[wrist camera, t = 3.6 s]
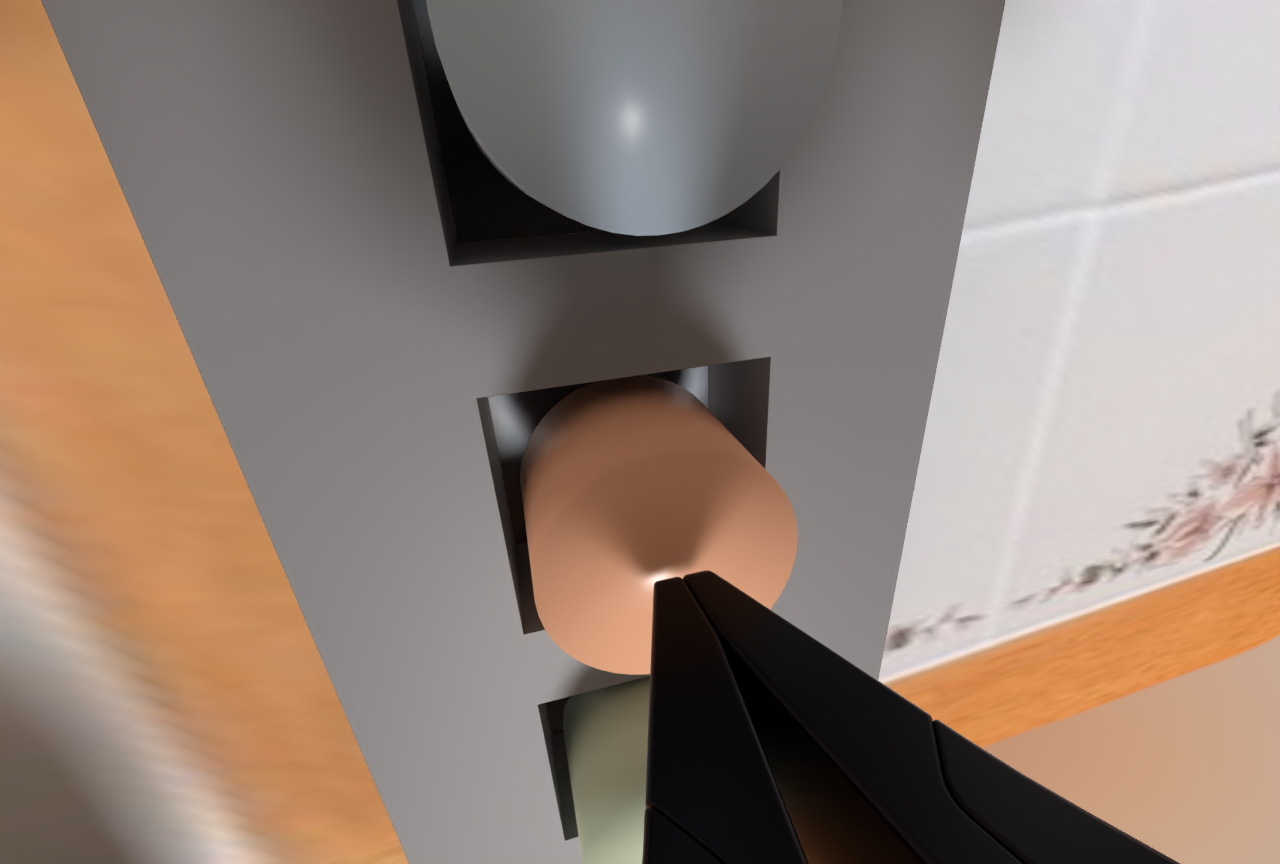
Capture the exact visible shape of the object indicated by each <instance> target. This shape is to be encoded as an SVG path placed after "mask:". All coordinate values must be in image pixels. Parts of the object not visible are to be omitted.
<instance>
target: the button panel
mask: <svg viewBox="0 0 1280 864" xmlns="http://www.w3.org/2000/svg"><path fill="white" fill-rule="evenodd" d="M41 1H42V4H43V6H44V8H45V11H46V13H47V15H48V18H49V20H50V22H51V25H52V27H53V29H54V32H55V34H56V36H57V39H58V41H59V43H60V46H61V48H62V50H63V53H64V55H65V57H66V60H67V62H68V65H69V67H70V69H71V72H72V74H73V76H74V79H75V81H76V83H77V86H78V88H79V90H80V93H81V95H82V97H83V100H84V102H85V104H86V107H87V109H88V111H89V114H90V116H91V118H92V121H93V123H94V125H95V128H96V130H97V133H98V135H99V137H100V140H101V142H102V144H103V147H104V149H105V151H106V154H107V156H108V158H109V161H110V163H111V165H112V168H113V170H114V172H115V175H116V177H117V179H118V182H119V184H120V186H121V189H122V191H123V194H124V196H125V198H126V201H127V203H128V205H129V208H130V210H131V212H132V215H133V217H134V219H135V222H136V224H137V226H138V229H139V231H140V233H141V236H142V238H143V240H144V243H145V245H146V247H147V250H148V252H149V254H150V257H151V259H152V262H153V264H154V266H155V269H156V271H157V273H158V276H159V278H160V280H161V283H162V285H163V287H164V290H165V292H166V294H167V297H168V299H169V301H170V304H171V306H172V308H173V311H174V313H175V315H176V318H177V320H178V323H179V325H180V327H181V330H182V332H183V334H184V337H185V339H186V341H187V344H188V346H189V348H190V351H191V353H192V355H193V358H194V360H195V362H196V365H197V367H198V369H199V372H200V374H201V376H202V379H203V381H204V383H205V386H206V388H207V391H208V393H209V395H210V398H211V400H212V402H213V405H214V407H215V409H216V412H217V414H218V416H219V419H220V421H221V423H222V426H223V428H224V430H225V433H226V435H227V437H228V440H229V442H230V444H231V447H232V449H233V452H234V454H235V456H236V459H237V461H238V463H239V466H240V468H241V470H242V473H243V475H244V477H245V480H246V482H247V484H248V487H249V489H250V491H251V494H252V496H253V498H254V501H255V503H256V505H257V508H258V510H259V512H260V515H261V517H262V520H263V522H264V524H265V527H266V529H267V531H268V534H269V536H270V538H271V541H272V543H273V545H274V548H275V550H276V552H277V555H278V557H279V559H280V562H281V564H282V566H283V569H284V571H285V573H286V576H287V578H288V581H289V583H290V585H291V588H292V590H293V592H294V595H295V597H296V599H297V602H298V604H299V606H300V609H301V611H302V613H303V616H304V618H305V620H306V623H307V625H308V627H309V630H310V632H311V634H312V637H313V639H314V641H315V644H316V646H317V649H318V651H319V653H320V656H321V658H322V660H323V663H324V665H325V667H326V670H327V672H328V674H329V677H330V679H331V681H332V684H333V686H334V688H335V691H336V693H337V695H338V698H339V700H340V702H341V705H342V707H343V710H344V712H345V714H346V717H347V719H348V721H349V724H350V726H351V728H352V731H353V733H354V735H355V738H356V740H357V742H358V745H359V747H360V749H361V752H362V754H363V756H364V759H365V761H366V763H367V766H368V768H369V770H370V773H371V775H372V778H373V780H374V782H375V785H376V787H377V789H378V792H379V794H380V796H381V799H382V801H383V803H384V806H385V808H386V810H387V813H388V815H389V817H390V820H391V822H392V824H393V827H394V829H395V831H396V834H397V836H398V838H399V841H400V843H401V846H402V848H403V850H404V853H405V855H406V857H407V860H408V862H409V864H583V863H582V856H581V849H580V842H579V835H578V829H577V822H576V815H575V808H574V801H573V794H572V787H571V780H570V773H569V766H568V759H567V752H566V745H565V738H564V731H563V732H559V733H555V734H552V733H551V727H550V722H549V717H548V712H547V706H546V702H550V701H554V700H558V699H562V698H566V697H570V696H574V695H577V694H581V693H585V692H589V691H593V690H597V689H601V688H605V687H609V686H613V685H617V684H621V683H624V682H628V681H632V680H636V679H640V678H644V677H648V676H650V674H645V675H629V674H619V673H612V672H608V671H603V670H599V669H597V668H594V667H591V666H588V665H586V664H584V663H582V662H580V661H578V660H576V659H574V658H573V657H571V656H570V655H569V654H567V653H566V652H565V651H563V650H562V649H561V648H560V647H559V646H558V645H557V644H556V643H555V642H554V641H553V640H552V638H551V637H550V636H549V634H548V633H547V631H546V630H545V628H544V626H543V624H542V622H541V620H540V618H539V616H538V612H537V608H536V605H535V599H534V591H533V583H532V574H531V566H530V558H529V550H528V542H526V543H520V544H516V543H515V538H514V533H513V528H512V522H511V517H510V512H509V507H508V501H507V496H506V491H505V486H504V480H503V475H502V470H501V465H500V459H499V454H498V449H497V444H496V438H495V433H494V428H493V422H492V417H491V412H490V407H489V401H488V397H489V396H496V395H504V394H511V393H518V392H525V391H532V390H539V389H546V388H553V387H560V386H567V385H574V384H581V383H588V382H595V381H602V380H609V379H616V378H623V377H630V376H638V375H645V374H652V373H659V372H666V371H673V370H680V369H687V368H694V367H701V366H708V365H709V411H710V412H711V413H712V414H713V415H714V416H715V417H716V418H717V419H718V420H719V421H720V422H721V423H722V424H723V425H724V426H725V428H726V429H727V430H728V431H729V432H730V433H731V434H732V435H733V436H734V437H735V438H736V439H737V440H738V441H739V442H740V443H741V444H742V445H743V446H744V447H745V449H746V450H747V451H748V452H749V453H750V454H751V455H752V456H753V457H754V458H755V459H756V460H757V461H758V462H759V463H760V464H761V465H762V466H763V467H764V469H765V470H766V471H767V472H768V473H769V474H770V475H771V476H772V477H773V478H774V479H775V480H776V481H777V482H778V484H779V485H780V486H781V488H782V489H783V490H784V492H785V493H786V495H787V497H788V499H789V501H790V503H791V505H792V508H793V511H794V514H795V517H796V524H797V531H798V536H797V551H796V557H795V561H794V565H793V568H792V572H791V574H790V576H789V579H788V581H787V583H786V586H785V587H784V589H783V591H782V593H781V594H780V596H779V598H778V599H777V601H776V602H775V604H774V605H773V606H772V608H771V609H770V610H772V611H773V612H775V613H776V614H778V615H779V616H781V617H782V618H784V619H785V620H787V621H788V622H790V623H791V624H793V625H794V626H796V627H797V628H799V629H800V630H802V631H803V632H805V633H807V634H808V635H810V636H811V637H813V638H814V639H816V640H817V641H819V642H820V643H822V644H823V645H825V646H826V647H828V648H829V649H831V650H832V651H834V652H835V653H837V654H838V655H840V656H841V657H843V658H844V659H846V660H848V661H849V662H851V663H852V664H854V665H855V666H857V667H858V668H860V669H861V670H863V671H864V672H866V673H867V674H869V675H870V676H872V677H873V678H875V679H876V680H878V677H879V672H880V667H881V661H882V656H883V651H884V645H885V640H886V635H887V629H888V624H889V619H890V613H891V608H892V603H893V597H894V592H895V587H896V581H897V576H898V571H899V565H900V560H901V555H902V549H903V544H904V539H905V533H906V528H907V523H908V517H909V512H910V507H911V501H912V496H913V491H914V485H915V480H916V475H917V469H918V464H919V459H920V453H921V448H922V443H923V437H924V432H925V427H926V421H927V416H928V410H929V405H930V400H931V394H932V389H933V384H934V378H935V373H936V368H937V362H938V357H939V352H940V346H941V341H942V336H943V330H944V325H945V320H946V314H947V309H948V304H949V298H950V293H951V288H952V282H953V277H954V272H955V266H956V261H957V256H958V250H959V245H960V240H961V234H962V229H963V224H964V218H965V213H966V208H967V202H968V197H969V192H970V186H971V181H972V176H973V170H974V165H975V159H976V154H977V149H978V143H979V138H980V133H981V127H982V122H983V117H984V111H985V106H986V101H987V95H988V90H989V85H990V79H991V74H992V69H993V63H994V58H995V53H996V47H997V42H998V37H999V31H1000V26H1001V21H1002V15H1003V10H1004V5H1005V0H843V9H842V16H841V24H840V32H839V39H838V44H837V48H836V53H835V57H834V61H833V66H832V70H831V73H830V76H829V79H828V82H827V85H826V88H825V91H824V94H823V97H822V99H821V101H820V104H819V106H818V108H817V110H816V113H815V115H814V117H813V119H812V121H811V124H810V125H809V127H808V129H807V130H806V132H805V134H804V136H803V137H802V139H801V141H800V142H799V144H798V146H797V147H796V149H795V150H794V152H793V153H792V154H791V156H790V157H789V158H788V160H787V161H786V162H785V164H784V165H783V166H782V168H781V169H780V170H779V171H778V172H777V173H776V174H775V175H774V176H773V177H772V178H771V180H770V181H769V182H768V183H767V184H766V185H765V186H764V187H763V188H762V189H760V190H759V191H758V192H757V193H756V194H754V195H753V196H752V197H751V198H750V199H748V200H747V201H746V202H745V203H743V204H742V205H740V206H739V207H737V208H735V209H734V210H732V211H731V212H729V213H728V214H726V215H724V216H722V217H720V218H718V219H716V220H714V221H711V222H709V223H707V224H705V225H702V226H699V227H696V228H693V229H689V230H686V231H683V232H677V233H671V234H665V235H651V236H634V235H626V234H618V233H612V232H608V231H604V230H601V231H589V232H578V233H566V234H555V235H543V236H532V237H520V238H508V239H497V240H485V241H474V242H462V243H458V238H457V233H456V228H455V223H454V217H453V212H452V207H451V202H450V196H449V191H448V186H447V181H446V175H445V170H444V165H443V160H442V154H441V149H440V144H439V139H438V133H437V128H436V123H435V118H434V112H433V107H432V102H431V97H430V91H429V86H428V81H427V76H426V70H425V65H424V60H423V54H422V49H421V44H420V39H419V33H418V28H417V23H416V18H415V12H414V7H413V2H412V0H41Z"/></svg>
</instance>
